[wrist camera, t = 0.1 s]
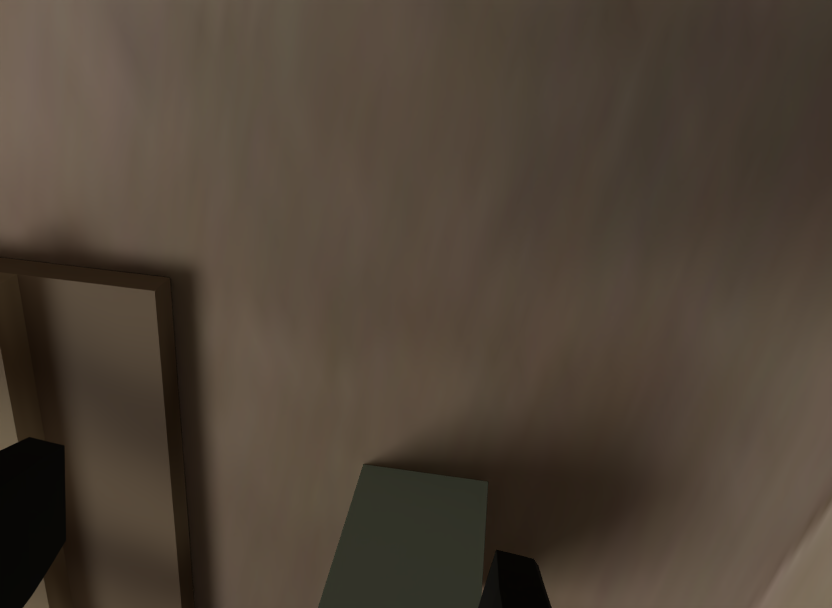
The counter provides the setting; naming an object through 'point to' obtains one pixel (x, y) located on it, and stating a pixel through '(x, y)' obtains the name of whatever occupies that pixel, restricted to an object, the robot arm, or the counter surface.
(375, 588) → the cabinet block
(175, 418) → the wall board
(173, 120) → the counter surface
